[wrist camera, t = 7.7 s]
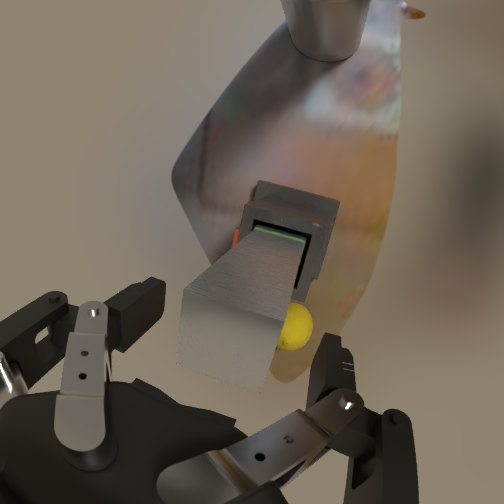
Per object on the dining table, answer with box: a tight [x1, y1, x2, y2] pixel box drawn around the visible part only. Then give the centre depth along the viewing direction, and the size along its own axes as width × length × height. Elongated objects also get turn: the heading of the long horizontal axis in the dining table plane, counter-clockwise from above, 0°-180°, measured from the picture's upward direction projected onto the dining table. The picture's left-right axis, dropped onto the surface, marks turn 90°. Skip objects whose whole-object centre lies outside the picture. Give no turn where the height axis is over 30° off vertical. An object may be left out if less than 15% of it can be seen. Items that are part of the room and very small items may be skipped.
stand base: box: [232, 180, 340, 302], centre depth 29 cm, size 10×10×12 cm
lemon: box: [277, 303, 313, 351], centre depth 34 cm, size 6×6×8 cm
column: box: [177, 222, 306, 393], centre depth 19 cm, size 4×4×19 cm
